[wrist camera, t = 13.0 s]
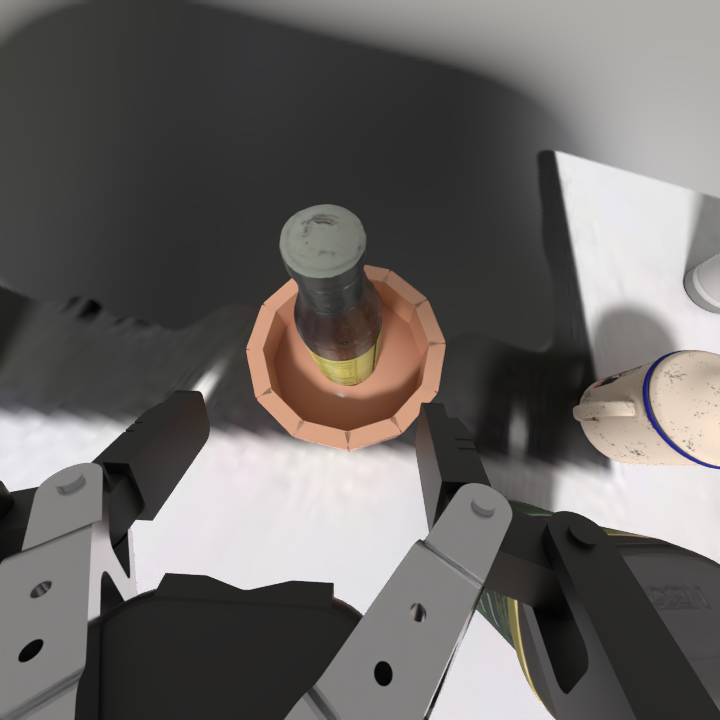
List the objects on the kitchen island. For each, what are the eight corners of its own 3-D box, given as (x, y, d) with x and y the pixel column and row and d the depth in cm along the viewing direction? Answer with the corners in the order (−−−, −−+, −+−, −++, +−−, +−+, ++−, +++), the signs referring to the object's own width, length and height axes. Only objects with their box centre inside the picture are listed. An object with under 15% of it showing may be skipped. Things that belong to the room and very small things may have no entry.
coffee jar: (443, 597, 28) (588, 841, 10) (435, 499, 30) (539, 555, 12) (554, 595, 28) (894, 832, 10) (536, 497, 30) (786, 548, 12)
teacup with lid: (653, 377, 34) (797, 336, 22) (677, 468, 31) (855, 472, 20) (539, 375, 34) (626, 333, 23) (553, 465, 31) (660, 468, 20)
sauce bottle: (341, 322, 35) (316, 154, 16) (389, 353, 33) (424, 212, 15) (304, 369, 33) (227, 245, 14) (353, 404, 32) (340, 319, 13)
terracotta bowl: (241, 425, 32) (220, 419, 28) (292, 275, 38) (282, 248, 33) (415, 467, 31) (425, 469, 26) (443, 306, 36) (455, 282, 31)
